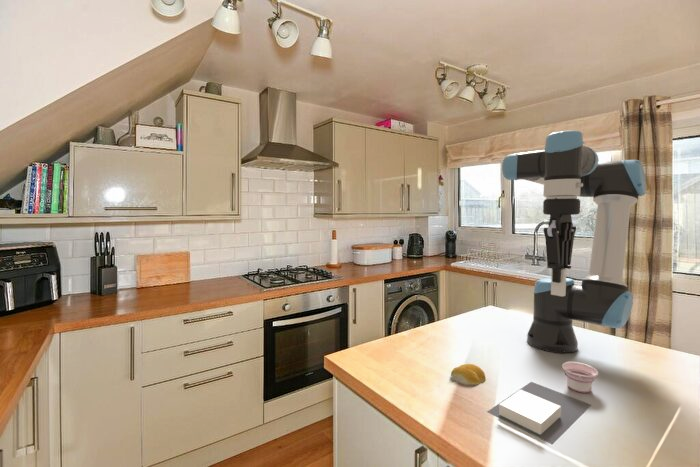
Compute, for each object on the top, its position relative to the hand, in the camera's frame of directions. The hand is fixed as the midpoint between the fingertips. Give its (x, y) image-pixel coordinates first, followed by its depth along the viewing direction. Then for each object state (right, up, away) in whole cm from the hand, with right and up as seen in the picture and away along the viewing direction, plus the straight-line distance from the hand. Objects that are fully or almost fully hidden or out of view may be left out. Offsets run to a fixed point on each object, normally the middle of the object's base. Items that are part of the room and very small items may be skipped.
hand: (558, 294), depth 83 cm
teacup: (+9, -26, +6) cm, 28 cm away
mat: (-6, -27, -3) cm, 28 cm away
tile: (-6, -25, -3) cm, 26 cm away
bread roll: (-18, -26, +12) cm, 34 cm away
